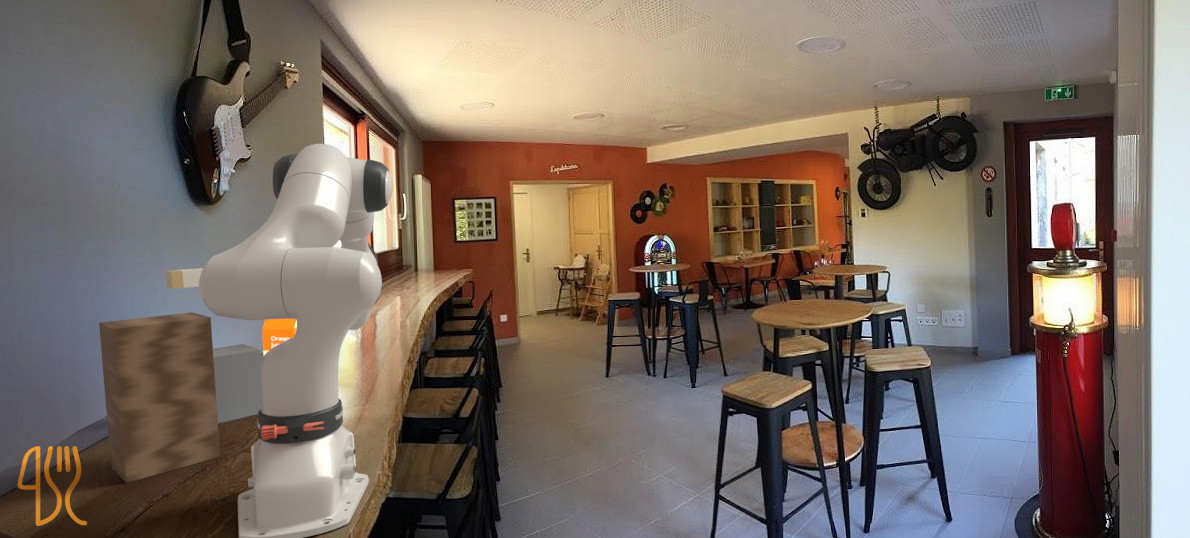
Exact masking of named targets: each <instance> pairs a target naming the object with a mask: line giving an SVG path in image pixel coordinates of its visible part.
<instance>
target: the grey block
mask: <svg viewBox="0 0 1190 538" xmlns="http://www.w3.org/2000/svg"><path fill="white" fill-rule="evenodd" d="M213 359H214V374H215V388H216V403H217V417H218V425H219V424H222V423H226V422H231V421H236V420H239V419H242V418H243V419H244V418H248V417H252V416H257V415H258V412H259V410H260V409H261V404H260V389H259V373H258V368H259V364H260V361H261V359H262V354H261V349H260V348H256V347H253V346H251V345H247V344H245V343H244V344H243V343H242V344H236V345H235V344H234V345H228V346H221V347H216V348H215V347H213Z"/></svg>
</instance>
